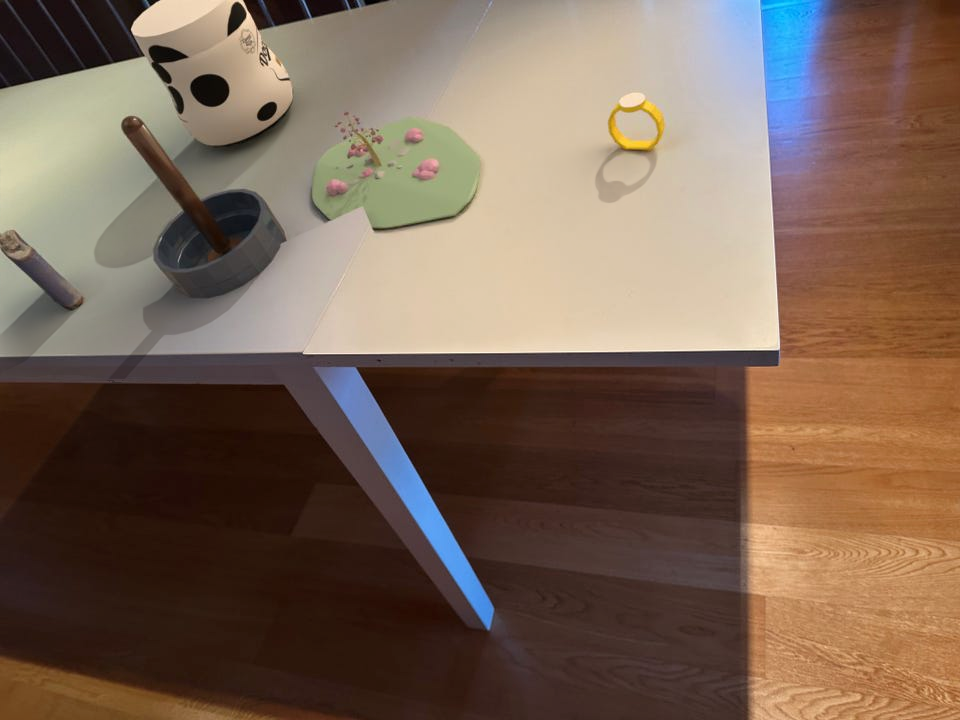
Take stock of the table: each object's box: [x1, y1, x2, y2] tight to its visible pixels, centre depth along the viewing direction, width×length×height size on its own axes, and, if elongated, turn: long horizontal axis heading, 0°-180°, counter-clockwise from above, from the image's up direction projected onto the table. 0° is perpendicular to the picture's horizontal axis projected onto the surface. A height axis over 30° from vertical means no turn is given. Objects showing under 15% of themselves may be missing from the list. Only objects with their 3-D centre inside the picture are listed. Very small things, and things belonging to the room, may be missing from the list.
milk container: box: [130, 0, 294, 148], centre depth 97 cm, size 17×17×18 cm
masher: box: [120, 115, 244, 263], centre depth 73 cm, size 5×5×20 cm
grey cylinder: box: [0, 229, 84, 310], centre depth 84 cm, size 9×3×11 cm, turn 47°
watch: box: [607, 92, 666, 152], centre depth 73 cm, size 6×3×6 cm, turn 61°
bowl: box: [152, 188, 288, 299], centre depth 79 cm, size 14×14×6 cm
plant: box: [311, 110, 482, 230], centre depth 81 cm, size 25×21×9 cm
